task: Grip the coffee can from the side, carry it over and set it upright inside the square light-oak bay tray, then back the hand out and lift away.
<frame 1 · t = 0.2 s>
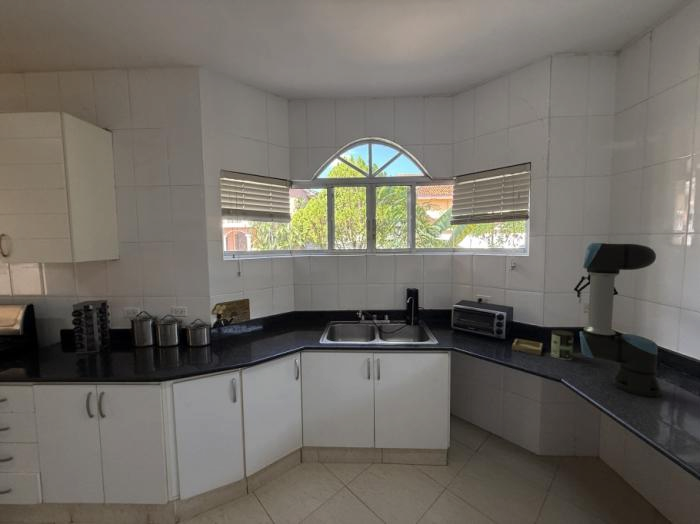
hand: (594, 304, 179), 27 cm above the countertop, tool pointing down, fingers open, 13 cm apart
coffee can: (561, 356, 170), on the countertop
oak bay tray: (527, 348, 182), on the countertop
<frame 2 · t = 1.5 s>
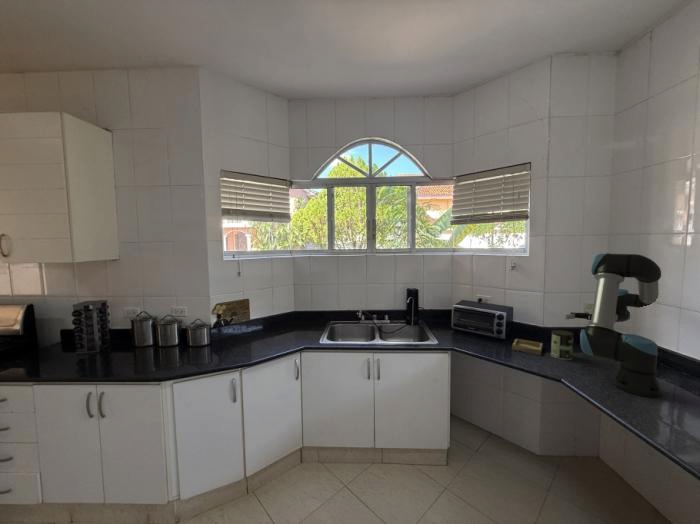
hand: (576, 320, 171), 20 cm above the countertop, tool horizontal, fingers open, 13 cm apart
nothing on the countertop moved.
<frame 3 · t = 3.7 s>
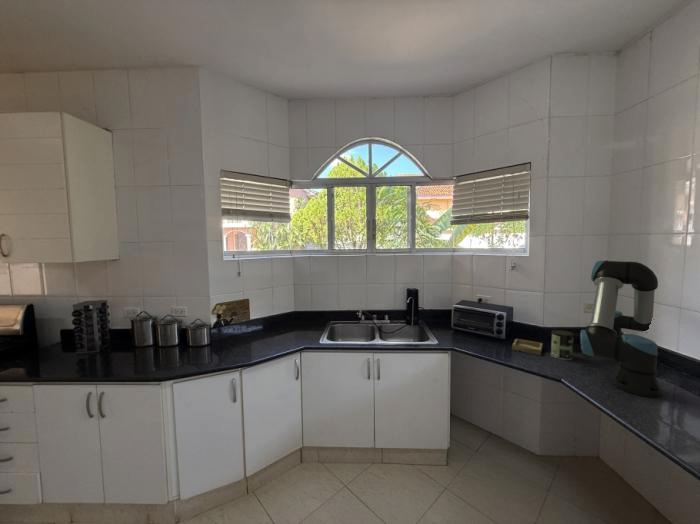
hand: (570, 341, 171), 8 cm above the countertop, tool horizontal, fingers open, 13 cm apart
nothing on the countertop moved.
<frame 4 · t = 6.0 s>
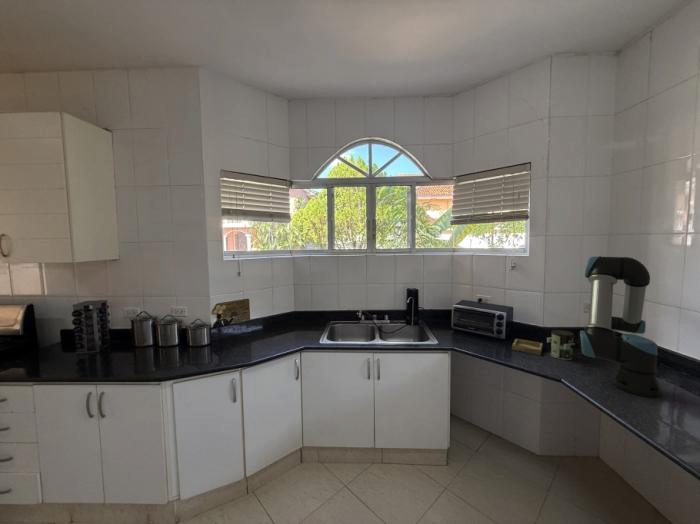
hand: (555, 343, 168), 8 cm above the countertop, tool horizontal, fingers closed on coffee can, 10 cm apart
coffee can: (561, 356, 170), on the countertop, touching gripper
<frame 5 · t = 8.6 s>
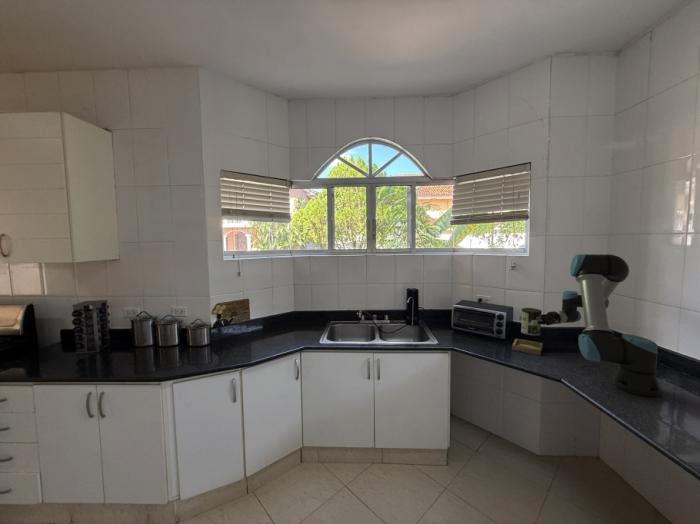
hand: (525, 320, 179), 18 cm above the countertop, tool horizontal, fingers closed on coffee can, 10 cm apart
coffee can: (530, 333, 181), point 10 cm above the countertop, touching gripper
when the fingers open (10 cm above the countertop, at t = 11.2 s): coffee can drops 1 cm, resting on oak bay tray.
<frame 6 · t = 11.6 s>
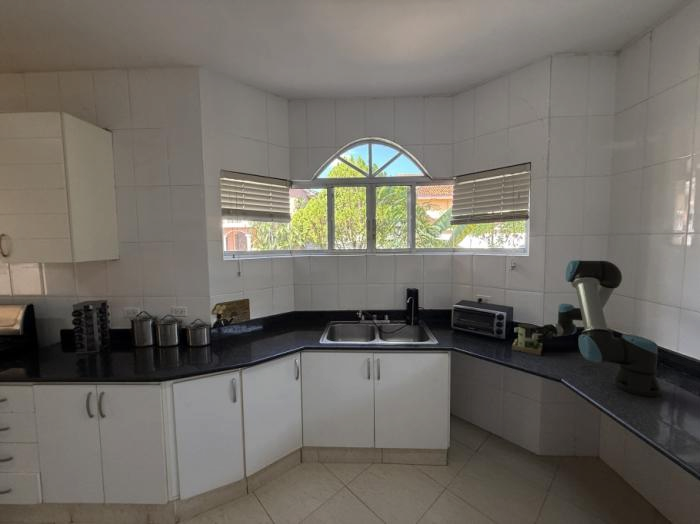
hand: (523, 333, 180), 10 cm above the countertop, tool horizontal, fingers open, 13 cm apart
coffee can: (527, 348, 182), resting on oak bay tray
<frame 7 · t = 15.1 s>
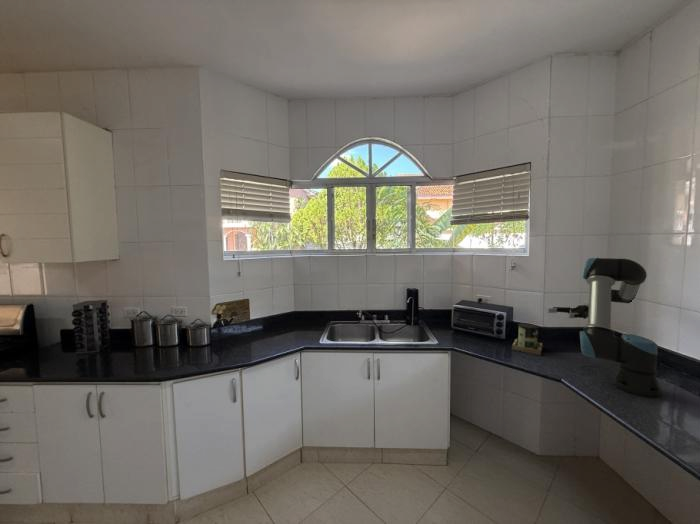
hand: (558, 313, 179), 22 cm above the countertop, tool horizontal, fingers open, 13 cm apart
nothing on the countertop moved.
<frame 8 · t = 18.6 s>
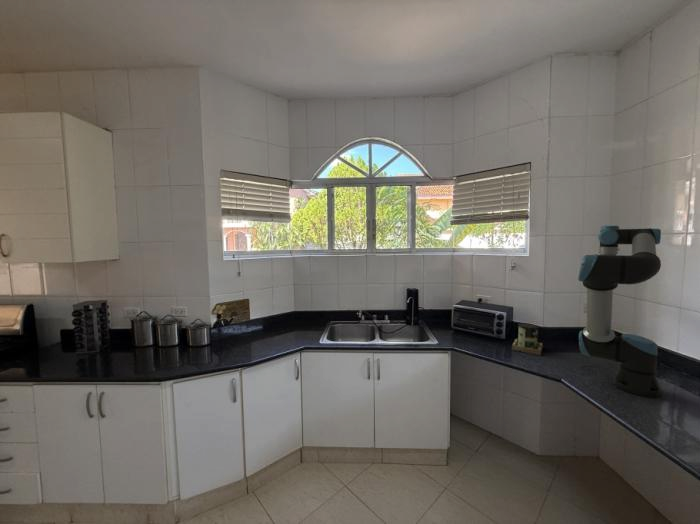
hand: (605, 294, 161), 37 cm above the countertop, tool pointing down, fingers open, 13 cm apart
nothing on the countertop moved.
at the end: coffee can 0.1 cm off-centre on the oak bay tray, point 0.4 cm above the oak bay tray's base; coffee can tilted 0°; the gripper is holding nothing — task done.
